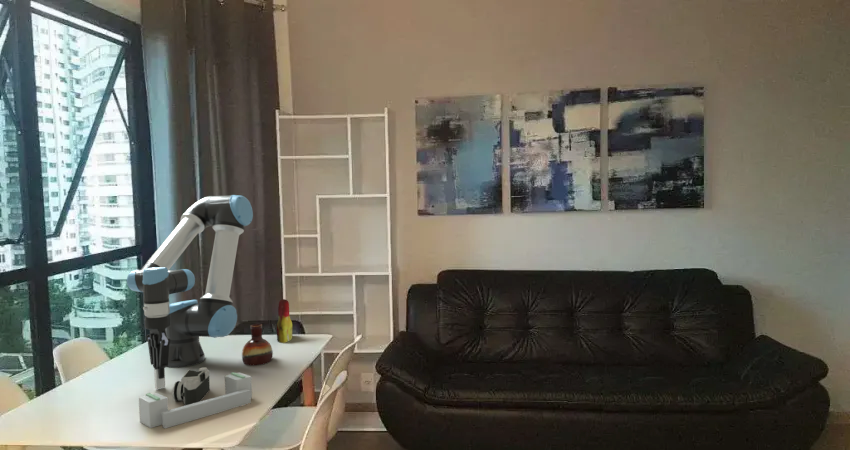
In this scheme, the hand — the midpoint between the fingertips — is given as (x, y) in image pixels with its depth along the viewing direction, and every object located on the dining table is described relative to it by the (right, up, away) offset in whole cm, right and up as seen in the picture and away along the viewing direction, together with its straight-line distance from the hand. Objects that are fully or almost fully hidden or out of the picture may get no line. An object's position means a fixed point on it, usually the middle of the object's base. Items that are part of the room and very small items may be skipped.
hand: (160, 387), depth 196 cm
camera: (+14, -2, -8) cm, 16 cm away
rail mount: (+20, -2, -19) cm, 28 cm away
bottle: (+27, +1, +58) cm, 64 cm away
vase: (+24, 0, +29) cm, 37 cm away
